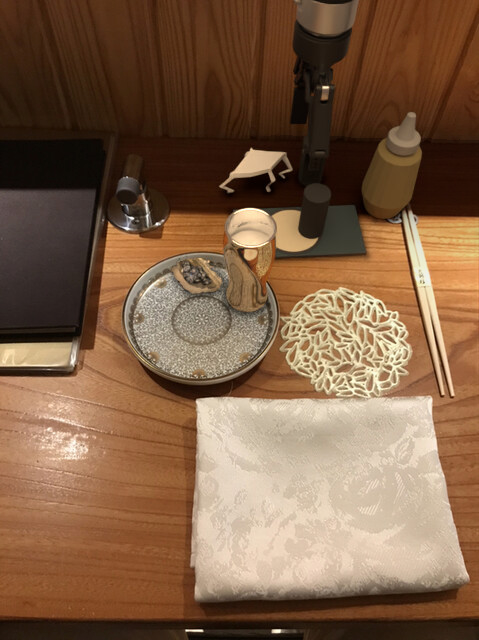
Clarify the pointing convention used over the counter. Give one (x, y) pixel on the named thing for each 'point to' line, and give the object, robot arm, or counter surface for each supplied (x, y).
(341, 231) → the board
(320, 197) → the black cylinder
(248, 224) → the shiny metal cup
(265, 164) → the origami figure
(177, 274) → the pouch of beans
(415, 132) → the squeeze bottle
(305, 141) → the black post
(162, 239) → the counter surface
